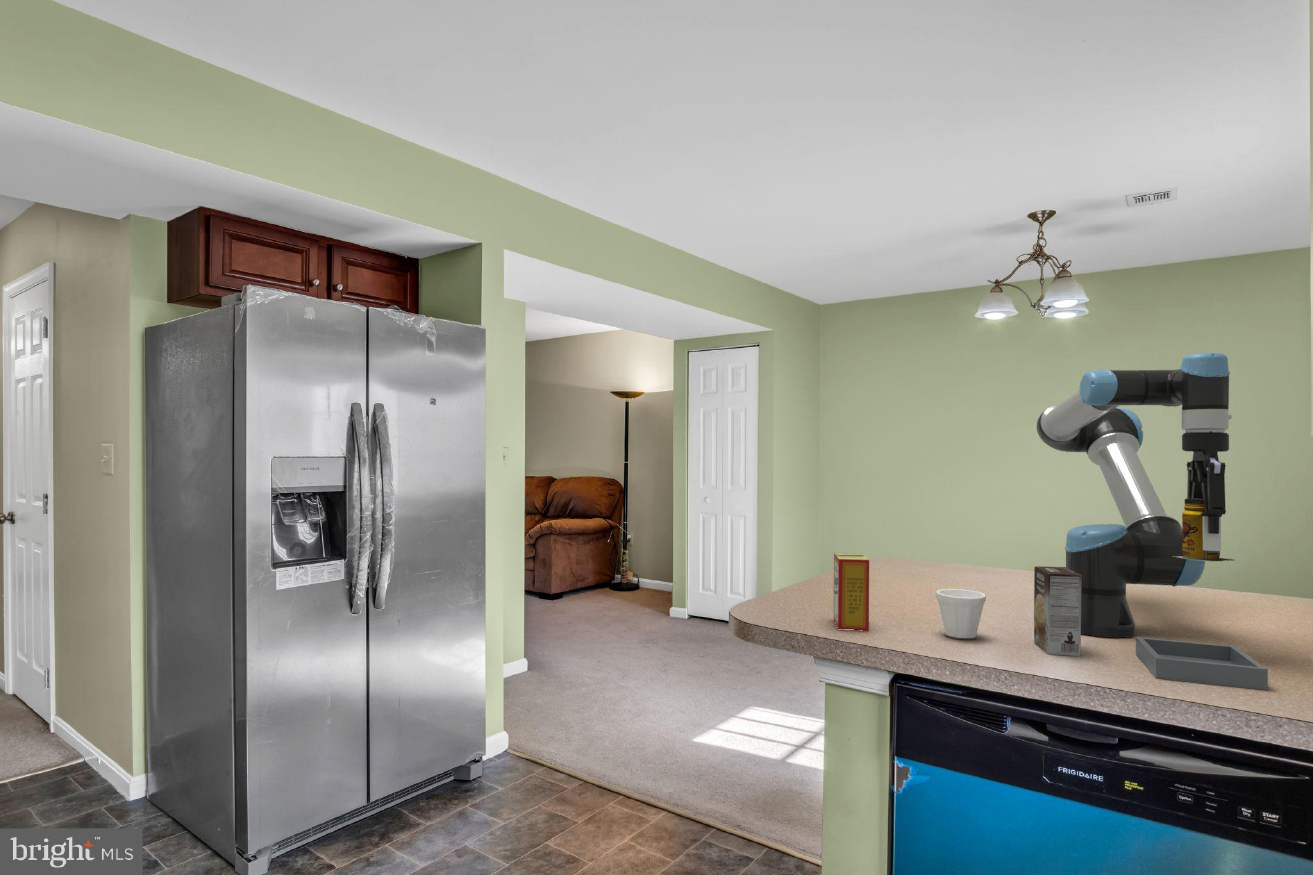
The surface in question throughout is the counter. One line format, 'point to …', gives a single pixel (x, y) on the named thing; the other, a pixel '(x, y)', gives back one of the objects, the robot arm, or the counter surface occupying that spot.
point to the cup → (960, 612)
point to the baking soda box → (851, 591)
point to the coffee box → (1057, 610)
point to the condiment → (1195, 533)
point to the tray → (1201, 663)
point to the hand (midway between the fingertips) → (1205, 548)
